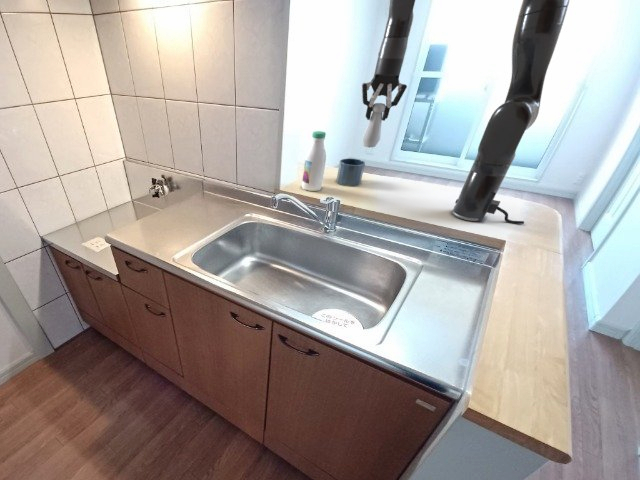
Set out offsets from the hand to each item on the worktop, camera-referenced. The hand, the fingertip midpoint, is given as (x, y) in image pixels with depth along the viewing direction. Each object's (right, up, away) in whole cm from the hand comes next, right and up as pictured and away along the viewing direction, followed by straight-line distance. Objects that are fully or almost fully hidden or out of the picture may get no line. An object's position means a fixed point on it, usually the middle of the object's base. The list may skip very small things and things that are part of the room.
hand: (375, 119), depth 109 cm
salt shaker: (0, -7, +5) cm, 8 cm away
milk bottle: (-18, -17, +18) cm, 31 cm away
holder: (-1, -12, +24) cm, 27 cm away
